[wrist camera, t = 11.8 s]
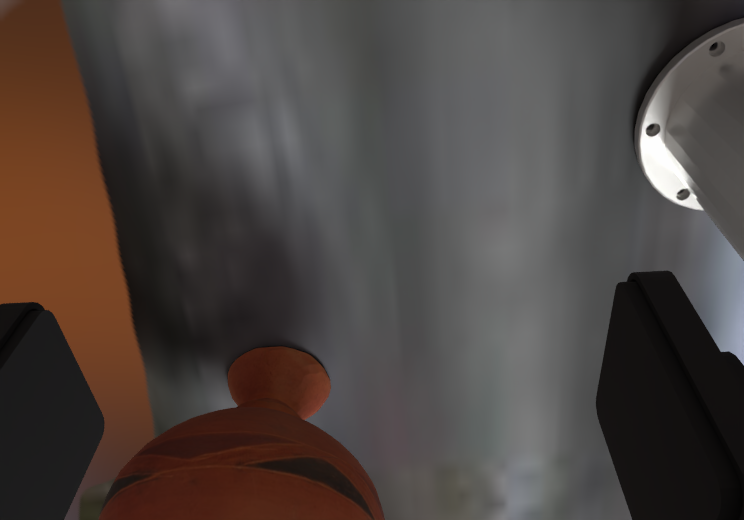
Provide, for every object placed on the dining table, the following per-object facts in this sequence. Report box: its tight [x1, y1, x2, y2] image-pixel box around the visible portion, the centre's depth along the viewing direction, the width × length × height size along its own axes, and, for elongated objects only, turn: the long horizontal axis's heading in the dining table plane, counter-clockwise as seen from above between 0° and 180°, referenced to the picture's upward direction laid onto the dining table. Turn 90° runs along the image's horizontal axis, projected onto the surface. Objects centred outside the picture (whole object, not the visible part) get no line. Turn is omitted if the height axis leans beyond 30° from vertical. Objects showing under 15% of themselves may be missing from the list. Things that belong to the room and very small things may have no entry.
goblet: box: [98, 346, 385, 520], centre depth 44 cm, size 19×19×25 cm
